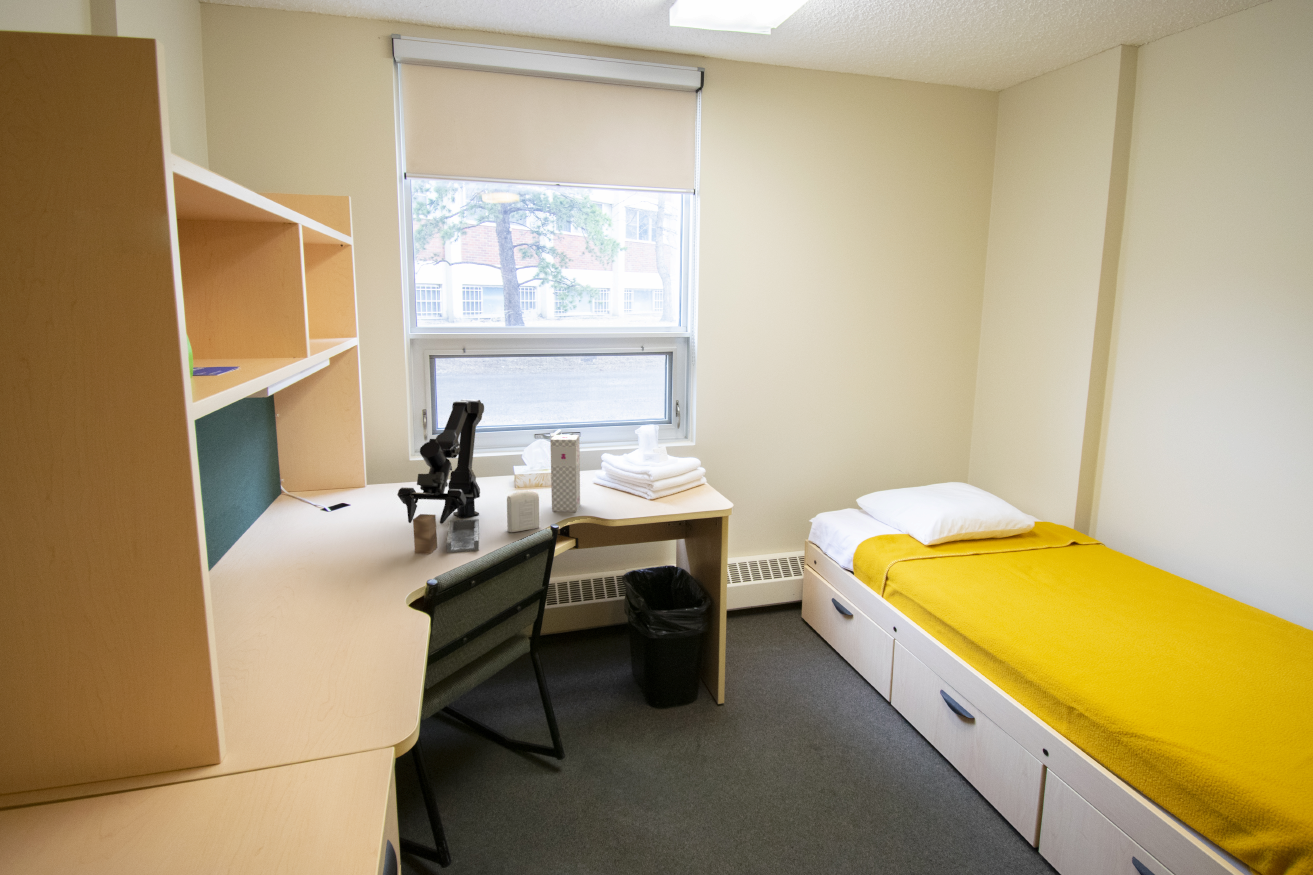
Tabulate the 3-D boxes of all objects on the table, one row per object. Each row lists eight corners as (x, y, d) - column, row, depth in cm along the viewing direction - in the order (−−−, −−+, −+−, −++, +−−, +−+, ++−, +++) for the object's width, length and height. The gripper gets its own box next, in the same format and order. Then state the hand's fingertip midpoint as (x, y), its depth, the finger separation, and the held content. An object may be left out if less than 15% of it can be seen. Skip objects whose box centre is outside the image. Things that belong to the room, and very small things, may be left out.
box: (576, 511, 233) (575, 439, 228) (551, 511, 233) (550, 439, 228) (580, 504, 241) (579, 435, 236) (556, 503, 241) (554, 434, 236)
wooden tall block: (437, 547, 198) (435, 514, 196) (430, 553, 193) (428, 520, 191) (422, 547, 198) (420, 514, 196) (415, 553, 194) (412, 519, 192)
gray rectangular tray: (450, 530, 213) (450, 520, 212) (479, 528, 215) (478, 519, 215) (447, 552, 194) (446, 542, 193) (478, 550, 196) (478, 540, 196)
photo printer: (536, 524, 219) (535, 487, 217) (541, 528, 216) (540, 490, 213) (505, 530, 214) (504, 492, 211) (510, 534, 210) (509, 495, 208)
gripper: (398, 460, 197) (382, 508, 189) (461, 462, 196) (448, 510, 187) (411, 480, 206) (397, 526, 198) (471, 482, 205) (460, 528, 196)
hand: (425, 522), depth 195 cm, fingers open, 9 cm apart
